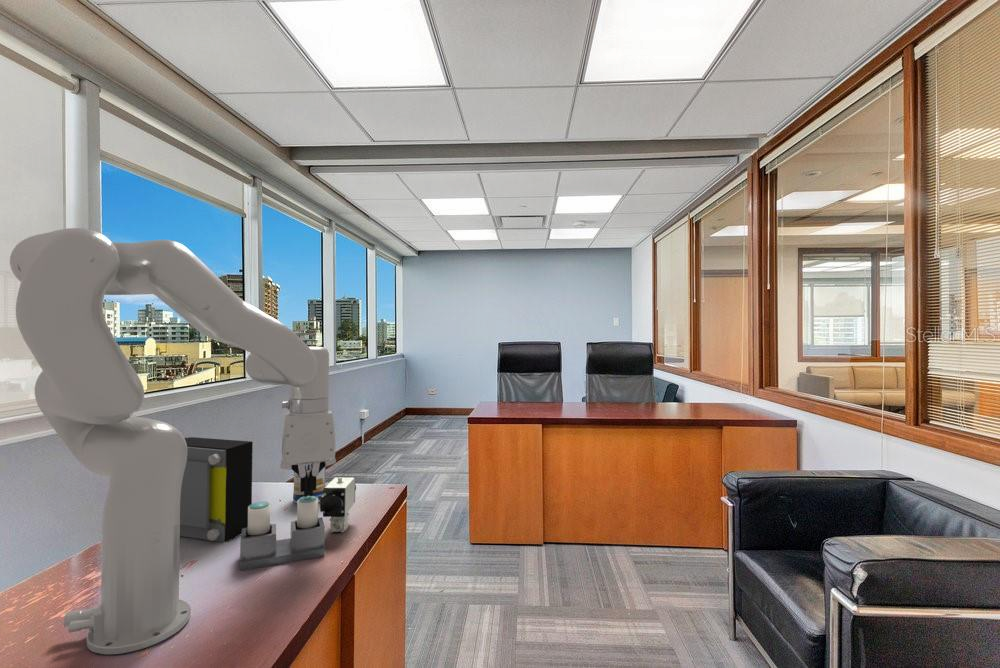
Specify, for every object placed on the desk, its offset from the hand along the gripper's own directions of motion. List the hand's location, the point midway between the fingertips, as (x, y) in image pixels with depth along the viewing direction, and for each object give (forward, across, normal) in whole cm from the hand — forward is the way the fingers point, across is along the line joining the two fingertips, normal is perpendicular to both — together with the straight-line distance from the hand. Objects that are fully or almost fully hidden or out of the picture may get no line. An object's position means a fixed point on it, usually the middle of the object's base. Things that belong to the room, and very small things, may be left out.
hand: (308, 494), depth 100 cm
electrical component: (+12, -21, +19) cm, 30 cm away
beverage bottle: (+12, +2, +32) cm, 34 cm away
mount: (+12, -5, 0) cm, 12 cm away
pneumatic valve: (+12, +7, +8) cm, 16 cm away
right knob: (+6, 0, 0) cm, 6 cm away
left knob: (+6, -9, 0) cm, 11 cm away
